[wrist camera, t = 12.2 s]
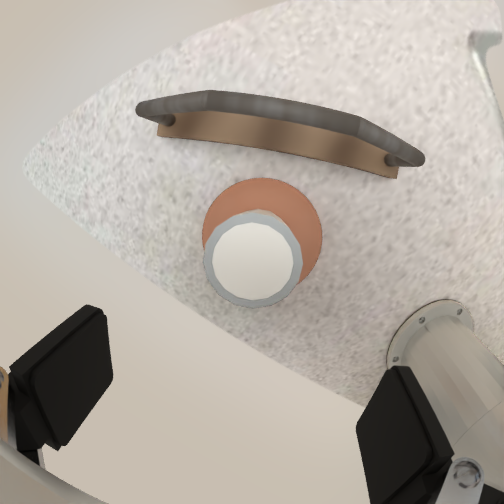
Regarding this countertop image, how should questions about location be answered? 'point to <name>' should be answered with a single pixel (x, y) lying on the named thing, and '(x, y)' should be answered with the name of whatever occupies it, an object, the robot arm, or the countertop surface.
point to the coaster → (278, 202)
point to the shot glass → (253, 259)
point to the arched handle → (281, 129)
